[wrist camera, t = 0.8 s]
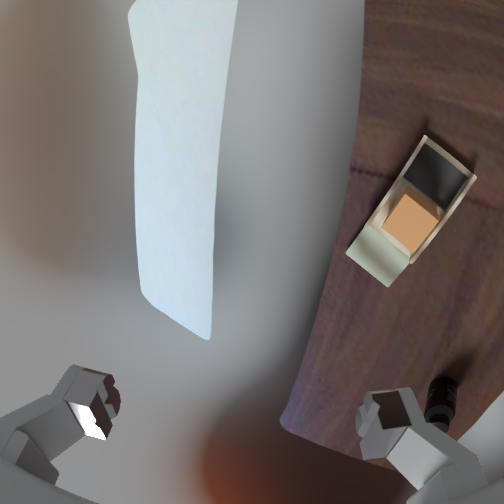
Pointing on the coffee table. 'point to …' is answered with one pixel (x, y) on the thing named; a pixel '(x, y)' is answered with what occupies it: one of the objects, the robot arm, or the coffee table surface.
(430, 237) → the chute
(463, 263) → the coffee table surface
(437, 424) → the supplement bottle
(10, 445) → the robot arm
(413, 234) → the orange block
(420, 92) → the coffee table surface
